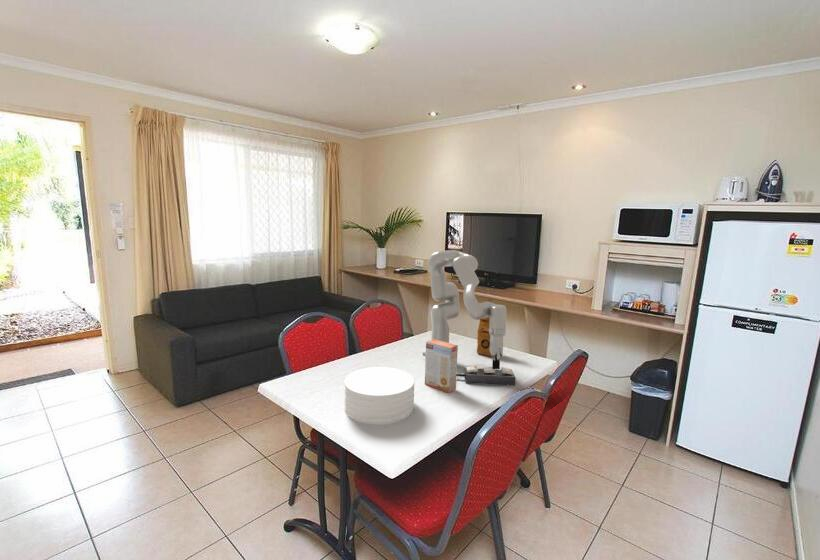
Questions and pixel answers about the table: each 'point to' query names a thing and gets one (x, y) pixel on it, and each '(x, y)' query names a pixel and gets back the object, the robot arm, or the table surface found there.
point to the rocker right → (507, 370)
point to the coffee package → (484, 337)
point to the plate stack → (379, 395)
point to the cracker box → (441, 365)
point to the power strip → (488, 377)
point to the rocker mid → (488, 370)
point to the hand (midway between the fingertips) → (495, 368)
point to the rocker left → (472, 369)
